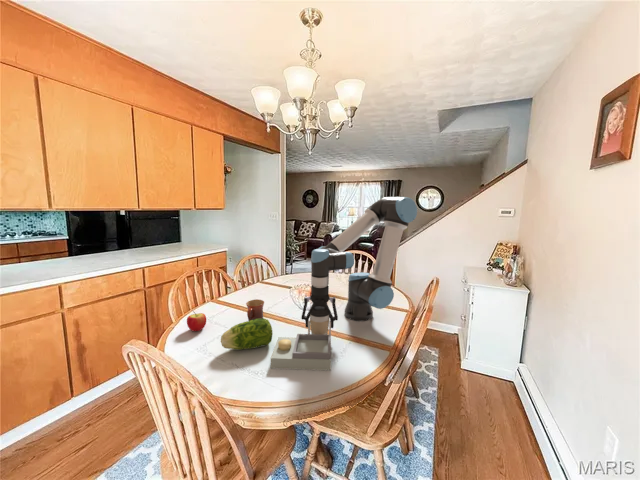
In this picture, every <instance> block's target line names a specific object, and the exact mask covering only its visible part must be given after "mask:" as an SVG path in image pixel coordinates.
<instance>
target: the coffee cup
mask: <svg viewBox="0 0 640 480" xmlns="http://www.w3.org/2000/svg"><path fill="white" fill-rule="evenodd" d="M309 319H310V334H321V335H329V319H330V318H329V312H328V311H327V309H325V308H324V306H323V307H321V306H315V308H314V309H312V311H310V318H309Z"/></svg>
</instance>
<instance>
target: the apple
mask: <svg viewBox="0 0 640 480" xmlns="http://www.w3.org/2000/svg"><path fill="white" fill-rule="evenodd" d="M192 312H193V314H191V315H188V316H187V319H186V324H187V327H188V328H189V330H190V331H192V332H199V331H202V330H203V329H204V328H205V326H206V324H207V316H206V314H205V313H201V312H200V313H198V312H197V313H196V312H195V311H192Z"/></svg>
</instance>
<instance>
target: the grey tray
mask: <svg viewBox="0 0 640 480" xmlns="http://www.w3.org/2000/svg"><path fill="white" fill-rule="evenodd" d="M331 354H332V334H331V335H329V334H327V335H321V334H311V333H310V334H308V333H307V334H306V333H297V334H296V337H291V336H289V337H286V336H285V337H284V336H283V337H282V336H279V337H277V339H276V342H275V346H274V348H273V350H272V353H271V357H270V369H280V370H282V369H286V370H287V369H288V370H308V371H309V370H310V371H311V370H314V371H332V370H331V367H332V360H331V359H332V355H331Z"/></svg>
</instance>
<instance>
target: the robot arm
mask: <svg viewBox="0 0 640 480" xmlns="http://www.w3.org/2000/svg"><path fill="white" fill-rule="evenodd" d="M417 215H418V206H417V204H416V202H415V200H414V199H413V198H411V197H407V196H385V197H382V198H380V199H378V200H377V201H375V202H374V203H372V204H371V205H370V206H368V207H367V208H366V209H365V210H364V213H363V214H361V216H360V217H358V219H356V220H355V221H353V223H352V224H351V225H349V226H348V227H347V228H345V230H344V231H342V232H341V233H340V234H339V235H338V236H336V237H335V238H334V239H333V240H331V241H330V242H329V243H328V244H327V245H324V246H323V245H321V246H320V247H318V248H316V249H315V248H314V249H313V250H312V251H311V258H310V262H311V263H310V264H311V267H310V268H311V271H310V272H311V274H310V275H311V276H310V277H311V278H310V280H311V281H310V282H311V283H310V284H311V287H310V288H311V289H310V296H307V295H305V296H304V297H303V301H304V302H303V303H304V305H303V310H302V313H301V317H300V319H301V320H304V321H305V328H307V334H311V325H310V311H312V309H314V308H315V306H321V307H323V306H324V308H325V309H327V311H328V312H329V327H328V335H331V336H332V334H331V333H332V329H334V324H335V323H334V322H335V321H338V319H339V318H338V312H337V306H336V297H335V296H333V297H330V295H329V293H330V292H329V289H330V288H329V284H330V283H329V281H330V277H329V276H330V272H332V271H338V270H341V271H342V270H348V269H352V268H353V266H355V257H354V254H353V253H352V252H351V251H345V250H347V249H348V248H349V247H350V246H351V245H353V244H354V243H355V242H356V241H357V240H358V239H359V238H361V237H362V236H363V235H364V234H365V233H366V232H367V231H369V230H370V229H371V228H372V227H373V226H374V225H378V224H380V223H381V222H382V223H384V226H385V227H384V231H383V234H382V237H381V241H380V244H379V248H378V252H377V254H376V259H375V261H374V267H373V270H372V272H371V273H370V272H354V273H351V274H349V275H348V280H347V282H348V287H347V289H348V292H347V293H348V294H347V302H346V305H345V308H344V316H345V317H346V318H347V319H349V320H352V321H355V322H357V321H358V322H365V321H369V320H371V319H372V318H373V316H374V312H373V308H376V309H378V310H381V309H386V308H387V307H388V306H389V305H390V304H391V303H392V302H393V299H394V296H395V294H394V290H393V288H392V283H393V282H392V280H391V276H392V272H393V268H394V265H395V261H396V258H397V254H398V249H399V247H400V243H401V239H402V236H403V233H404V231H405V230H407V228H408V227H409V224H410V223H412V222H414V220H415V219H416V218H417ZM310 301H311V303H312V304H311V306H310V308H309V310H308V312H307V307H308V303H310ZM328 302H330V303H331V306H332V310H333V314H334V316H333V314H332V311H331V309H330V307H329V305H328ZM306 312H307V315H306Z"/></svg>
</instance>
